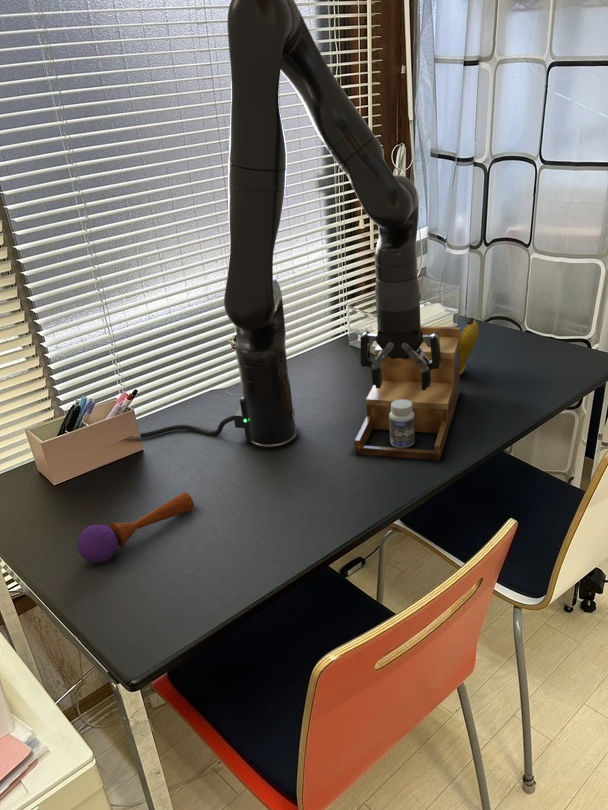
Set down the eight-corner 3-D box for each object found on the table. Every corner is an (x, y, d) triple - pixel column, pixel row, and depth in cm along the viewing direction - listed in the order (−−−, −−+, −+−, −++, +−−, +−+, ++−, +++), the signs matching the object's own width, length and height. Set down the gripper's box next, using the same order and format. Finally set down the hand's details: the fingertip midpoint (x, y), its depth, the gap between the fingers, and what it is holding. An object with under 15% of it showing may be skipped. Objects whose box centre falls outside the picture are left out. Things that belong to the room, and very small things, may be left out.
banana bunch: (486, 377, 158) (489, 312, 150) (461, 388, 154) (462, 323, 146) (449, 363, 166) (449, 301, 158) (424, 373, 162) (423, 310, 154)
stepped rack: (355, 454, 134) (350, 382, 126) (386, 389, 156) (383, 325, 148) (439, 460, 130) (439, 386, 122) (459, 393, 152) (460, 327, 144)
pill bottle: (394, 450, 134) (393, 411, 129) (387, 439, 138) (385, 400, 133) (418, 446, 135) (417, 406, 130) (410, 434, 138) (409, 396, 134)
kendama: (198, 496, 118) (88, 548, 105) (198, 523, 121) (92, 576, 108) (177, 478, 121) (67, 527, 108) (178, 505, 124) (71, 555, 111)
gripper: (352, 309, 120) (359, 395, 129) (435, 310, 117) (437, 398, 125) (362, 294, 126) (368, 377, 135) (442, 295, 123) (443, 380, 131)
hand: (401, 387), depth 130 cm, fingers open, 8 cm apart
